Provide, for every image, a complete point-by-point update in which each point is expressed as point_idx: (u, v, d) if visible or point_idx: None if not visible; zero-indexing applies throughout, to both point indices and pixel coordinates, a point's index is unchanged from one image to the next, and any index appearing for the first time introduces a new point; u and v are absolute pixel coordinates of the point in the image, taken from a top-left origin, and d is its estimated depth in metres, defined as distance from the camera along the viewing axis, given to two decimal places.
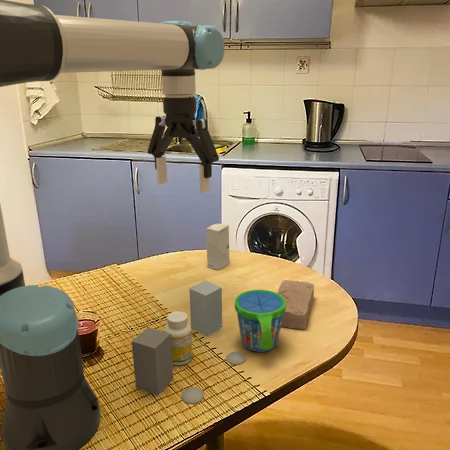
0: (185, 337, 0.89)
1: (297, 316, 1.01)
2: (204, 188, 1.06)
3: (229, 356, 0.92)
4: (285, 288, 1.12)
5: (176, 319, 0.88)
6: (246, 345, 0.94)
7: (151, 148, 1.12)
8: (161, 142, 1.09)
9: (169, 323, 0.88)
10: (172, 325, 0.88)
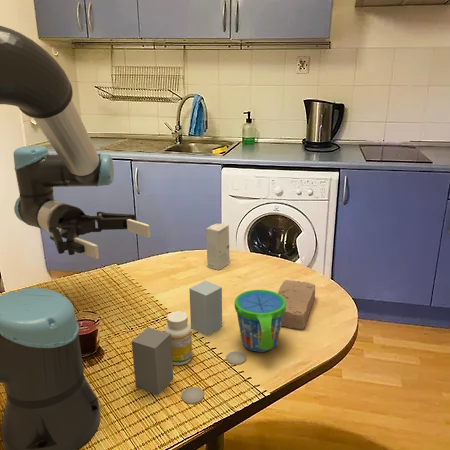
0: (185, 337, 0.89)
1: (295, 316, 1.01)
2: None
3: (229, 356, 0.92)
4: (286, 288, 1.12)
5: (176, 319, 0.88)
6: (246, 345, 0.94)
7: (60, 239, 0.91)
8: (70, 232, 0.95)
9: (169, 323, 0.88)
10: (172, 325, 0.88)
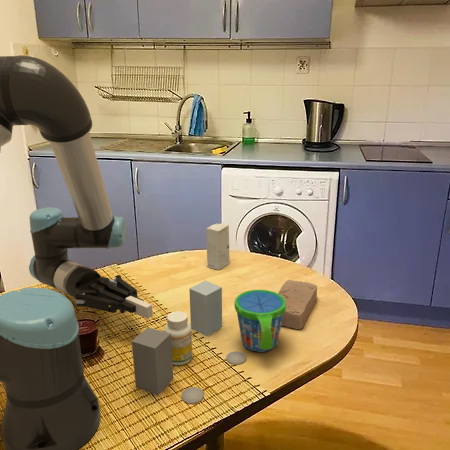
0: (185, 337, 0.89)
1: (293, 315, 1.01)
2: None
3: (229, 356, 0.92)
4: (287, 288, 1.12)
5: (176, 319, 0.88)
6: (246, 345, 0.94)
7: (109, 300, 0.97)
8: (107, 294, 0.99)
9: (169, 323, 0.88)
10: (172, 325, 0.88)
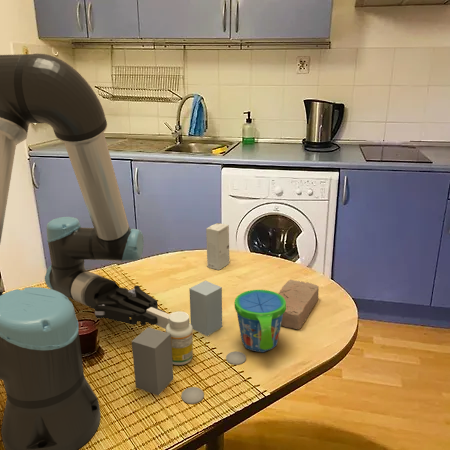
0: (186, 337, 0.89)
1: (291, 315, 1.01)
2: None
3: (229, 356, 0.92)
4: (288, 288, 1.13)
5: (178, 319, 0.88)
6: (246, 345, 0.94)
7: (129, 311, 0.95)
8: (127, 305, 0.97)
9: (171, 323, 0.88)
10: (174, 325, 0.88)
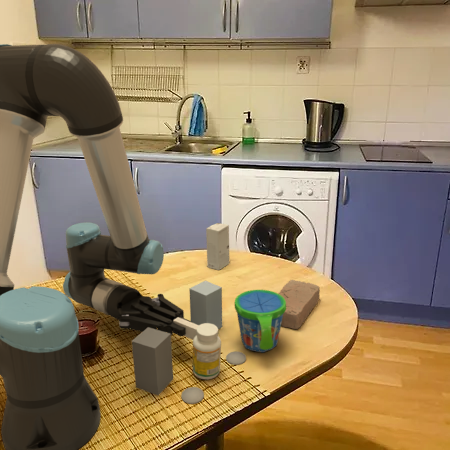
0: (212, 352, 0.84)
1: (290, 315, 1.01)
2: None
3: (229, 356, 0.92)
4: (288, 288, 1.13)
5: (205, 332, 0.84)
6: (246, 345, 0.94)
7: (156, 322, 0.91)
8: (153, 315, 0.93)
9: (198, 336, 0.84)
10: (200, 338, 0.84)
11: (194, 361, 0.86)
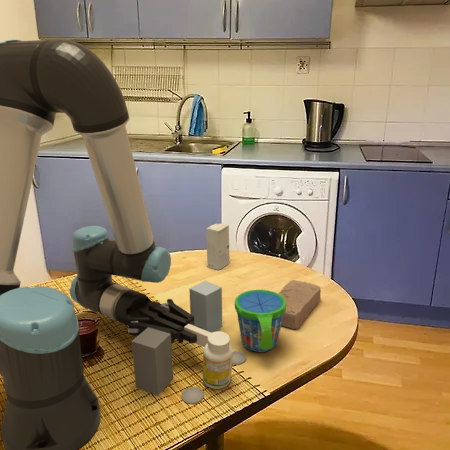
0: (222, 363, 0.81)
1: (289, 315, 1.01)
2: None
3: None
4: (289, 287, 1.13)
5: (216, 342, 0.81)
6: (246, 345, 0.94)
7: (166, 329, 0.89)
8: (163, 322, 0.91)
9: (208, 344, 0.81)
10: (210, 347, 0.81)
11: (204, 369, 0.84)
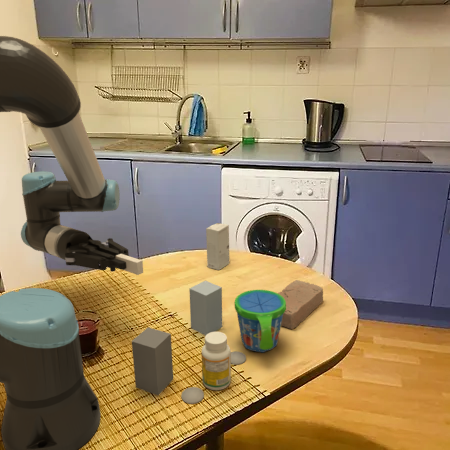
0: (221, 361, 0.81)
1: (285, 314, 1.01)
2: None
3: None
4: (291, 287, 1.13)
5: (213, 341, 0.82)
6: (246, 345, 0.94)
7: (99, 257, 0.96)
8: (97, 252, 0.98)
9: (206, 344, 0.82)
10: (208, 346, 0.81)
11: (203, 371, 0.84)
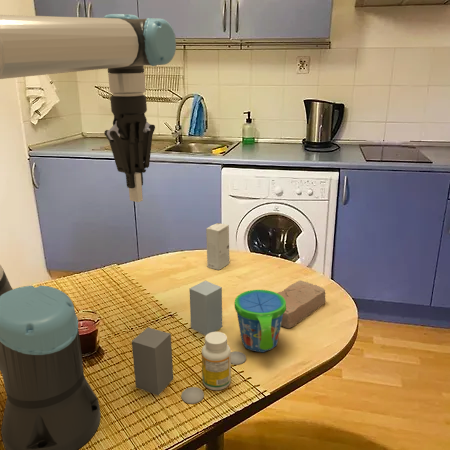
0: (221, 362, 0.81)
1: None
2: None
3: None
4: (293, 287, 1.13)
5: (214, 341, 0.82)
6: (246, 345, 0.94)
7: (126, 165, 0.99)
8: (130, 153, 1.00)
9: (206, 344, 0.82)
10: (208, 346, 0.81)
11: (203, 371, 0.84)
